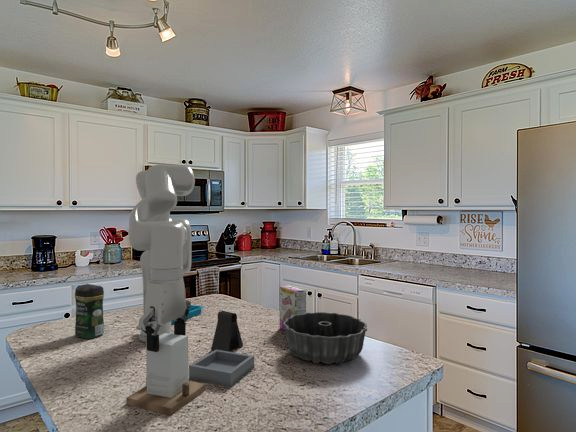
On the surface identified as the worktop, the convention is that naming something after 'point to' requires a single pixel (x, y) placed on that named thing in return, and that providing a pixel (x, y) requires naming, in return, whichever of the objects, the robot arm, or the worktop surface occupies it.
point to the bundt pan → (325, 336)
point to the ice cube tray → (192, 311)
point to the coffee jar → (89, 311)
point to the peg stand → (166, 398)
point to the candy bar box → (291, 302)
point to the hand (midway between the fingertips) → (166, 343)
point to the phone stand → (227, 333)
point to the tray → (221, 367)
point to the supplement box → (168, 366)
